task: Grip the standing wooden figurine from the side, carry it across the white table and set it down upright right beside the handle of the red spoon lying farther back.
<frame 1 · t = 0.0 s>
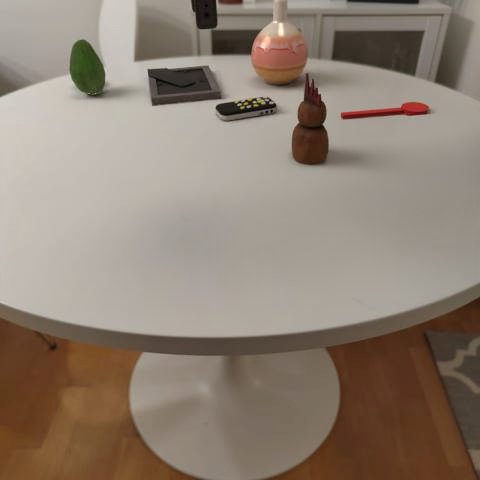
hand: (204, 19, 51), 26 cm above the table, tool pointing down, fingers open, 8 cm apart
vase: (278, 81, 114), on the table
avocado: (92, 95, 111), on the table
picture frame: (182, 88, 113), on the table
remote control: (246, 113, 99), on the table
wooden figurine: (307, 167, 80), on the table
red spoon: (382, 114, 96), on the table
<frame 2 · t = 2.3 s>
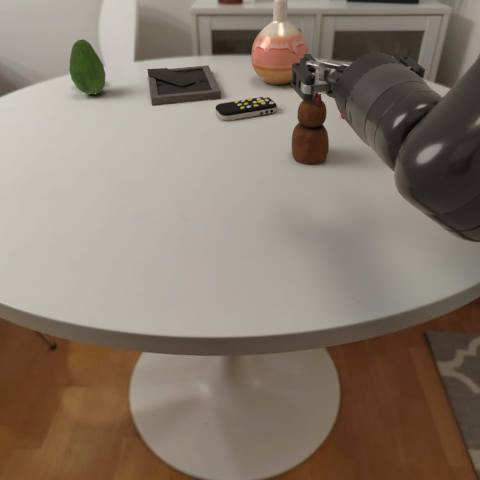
hand: (338, 60, 58), 20 cm above the table, tool horizontal, fingers open, 8 cm apart
nothing on the table moved.
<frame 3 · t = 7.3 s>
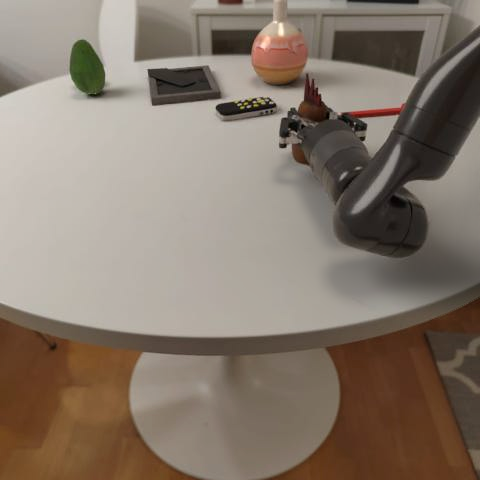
hand: (307, 112, 76), 9 cm above the table, tool horizontal, fingers closed on wooden figurine, 4 cm apart
wooden figurine: (307, 167, 80), on the table, touching gripper
everything else where it was.
when the fingers open (9 cm above the table, at t = 16.0 s): wooden figurine stays where it is, on the table.
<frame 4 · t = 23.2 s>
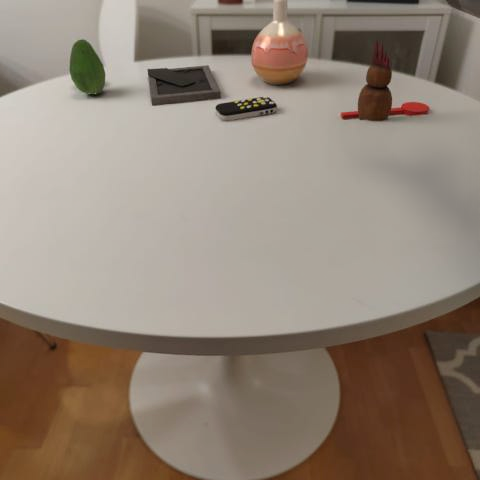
wooden figurine: (370, 125, 92), on the table
everything else where it was.
at the end: wooden figurine inside the target area on the table beside the red spoon (0.7 cm from its centre), on the table; wooden figurine tilted 0° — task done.
